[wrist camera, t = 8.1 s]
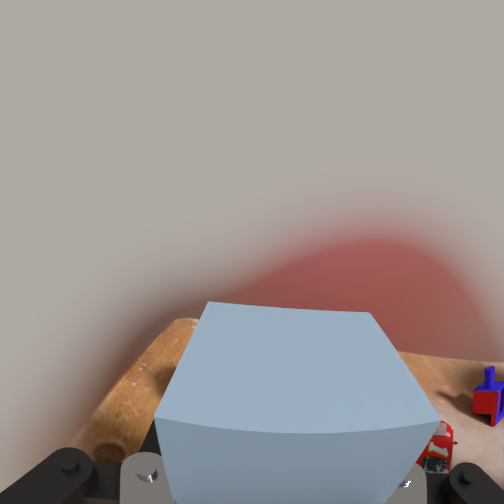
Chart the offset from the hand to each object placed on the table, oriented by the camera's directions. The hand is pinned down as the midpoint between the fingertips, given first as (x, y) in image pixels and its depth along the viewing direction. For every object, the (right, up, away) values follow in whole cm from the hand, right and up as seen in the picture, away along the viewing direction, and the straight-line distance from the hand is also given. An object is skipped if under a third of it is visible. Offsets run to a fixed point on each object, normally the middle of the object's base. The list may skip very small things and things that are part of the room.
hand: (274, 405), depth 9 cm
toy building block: (+31, -17, +17) cm, 39 cm away
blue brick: (-1, -7, -1) cm, 7 cm away
